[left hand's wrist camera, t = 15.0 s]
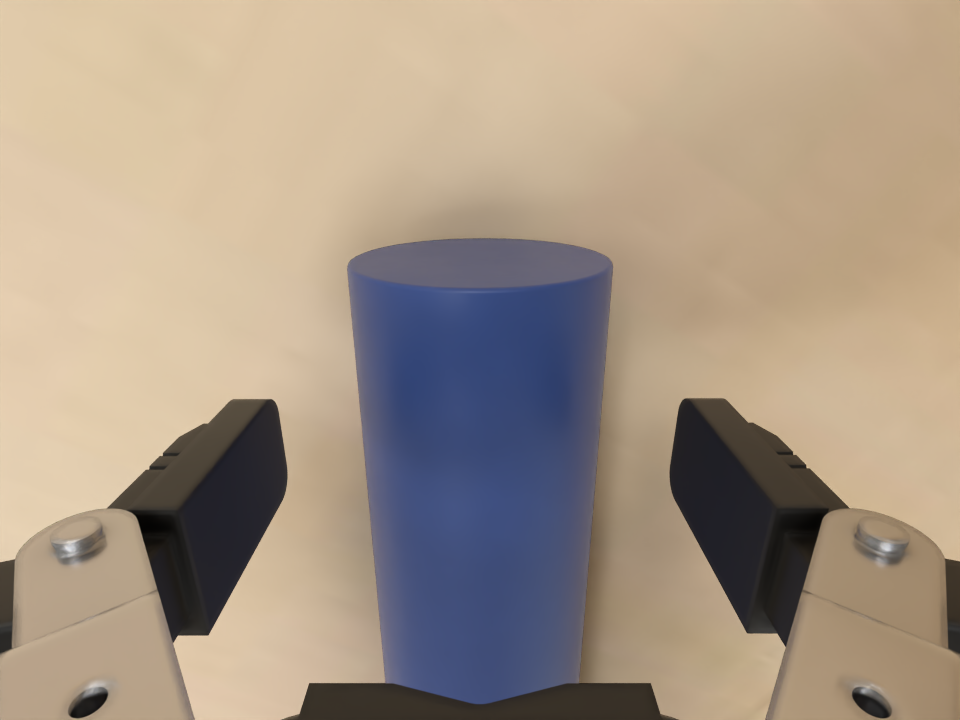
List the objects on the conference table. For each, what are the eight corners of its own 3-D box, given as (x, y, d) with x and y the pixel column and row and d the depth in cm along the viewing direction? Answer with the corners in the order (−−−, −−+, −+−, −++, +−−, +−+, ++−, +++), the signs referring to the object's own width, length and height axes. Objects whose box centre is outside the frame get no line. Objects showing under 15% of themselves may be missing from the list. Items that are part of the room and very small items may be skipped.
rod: (372, 238, 15) (314, 290, 9) (585, 237, 15) (648, 287, 9) (416, 830, 24) (400, 1027, 19) (548, 828, 24) (569, 1024, 19)
